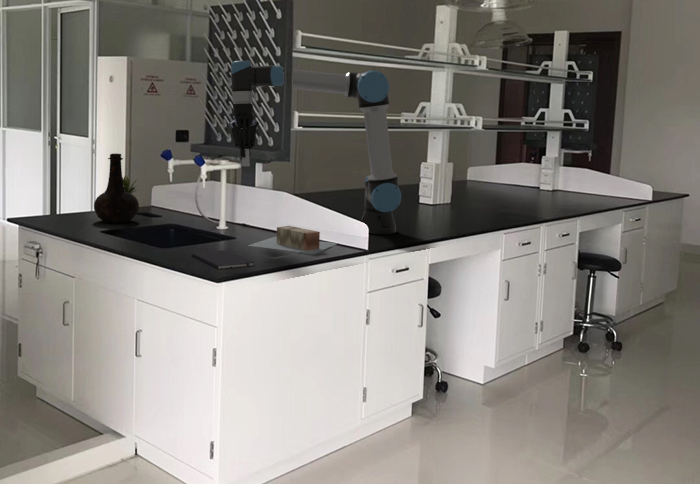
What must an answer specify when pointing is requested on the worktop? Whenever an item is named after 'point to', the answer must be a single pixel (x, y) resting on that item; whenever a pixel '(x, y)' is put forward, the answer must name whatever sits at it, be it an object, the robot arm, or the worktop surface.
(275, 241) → the grey mat
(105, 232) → the worktop surface
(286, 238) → the birch block
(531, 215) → the worktop surface
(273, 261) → the worktop surface
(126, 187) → the house plant
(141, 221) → the worktop surface
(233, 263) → the notebook
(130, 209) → the glass bottle
